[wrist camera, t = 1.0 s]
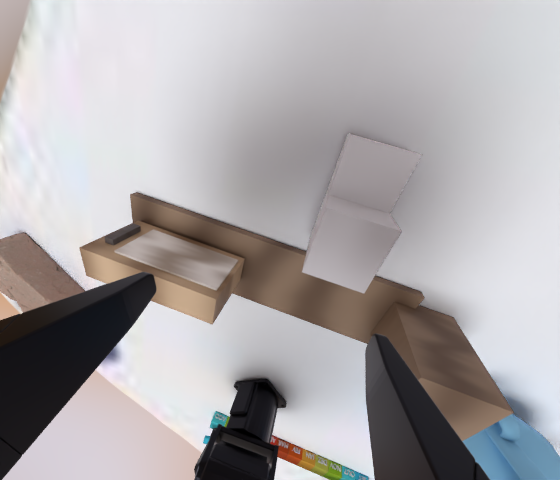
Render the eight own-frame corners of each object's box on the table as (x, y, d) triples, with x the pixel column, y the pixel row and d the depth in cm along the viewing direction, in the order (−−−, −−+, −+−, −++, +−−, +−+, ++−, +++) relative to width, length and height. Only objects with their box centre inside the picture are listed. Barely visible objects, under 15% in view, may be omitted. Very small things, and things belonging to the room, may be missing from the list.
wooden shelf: (464, 307, 20) (533, 401, 13) (415, 355, 24) (448, 448, 17) (136, 192, 22) (46, 220, 15) (141, 253, 26) (71, 298, 19)
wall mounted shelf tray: (245, 254, 21) (217, 293, 16) (239, 280, 23) (212, 324, 18) (137, 215, 22) (77, 241, 17) (140, 243, 24) (86, 275, 19)
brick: (5, 248, 33) (-41, 265, 29) (26, 228, 29) (-24, 244, 25) (87, 324, 38) (58, 348, 34) (113, 314, 35) (83, 339, 30)
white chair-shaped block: (407, 150, 16) (444, 160, 10) (356, 251, 20) (364, 293, 15) (347, 133, 16) (354, 134, 11) (310, 235, 20) (301, 272, 15)
